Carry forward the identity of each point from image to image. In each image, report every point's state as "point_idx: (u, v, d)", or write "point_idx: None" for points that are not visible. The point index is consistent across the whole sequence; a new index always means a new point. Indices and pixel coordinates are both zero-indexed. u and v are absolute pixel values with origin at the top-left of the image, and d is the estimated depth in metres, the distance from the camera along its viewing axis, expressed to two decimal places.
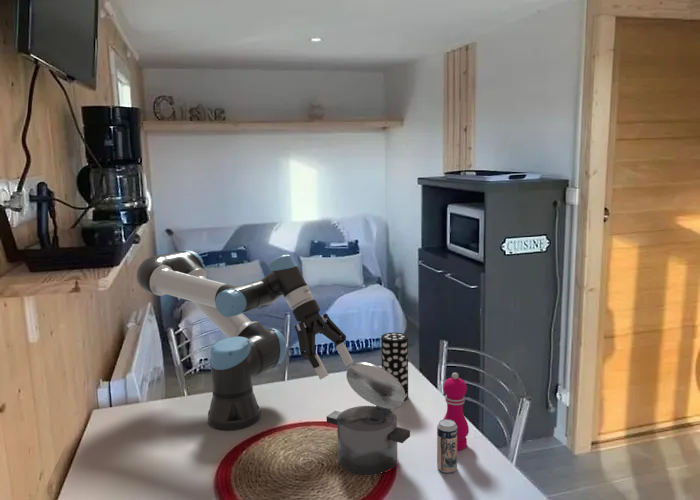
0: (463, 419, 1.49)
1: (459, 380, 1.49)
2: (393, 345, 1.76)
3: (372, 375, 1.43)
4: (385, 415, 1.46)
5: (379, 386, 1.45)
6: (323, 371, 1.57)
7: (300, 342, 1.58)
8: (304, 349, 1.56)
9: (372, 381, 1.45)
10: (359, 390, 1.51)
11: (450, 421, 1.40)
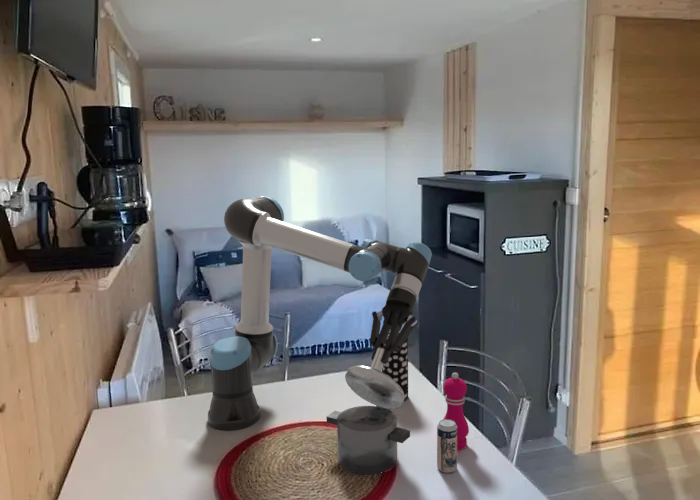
0: (463, 419, 1.49)
1: (459, 380, 1.49)
2: None
3: (371, 378, 1.43)
4: (385, 415, 1.46)
5: (378, 388, 1.45)
6: (380, 370, 1.45)
7: (404, 335, 1.46)
8: (400, 346, 1.46)
9: (371, 383, 1.44)
10: (358, 391, 1.51)
11: (450, 421, 1.40)
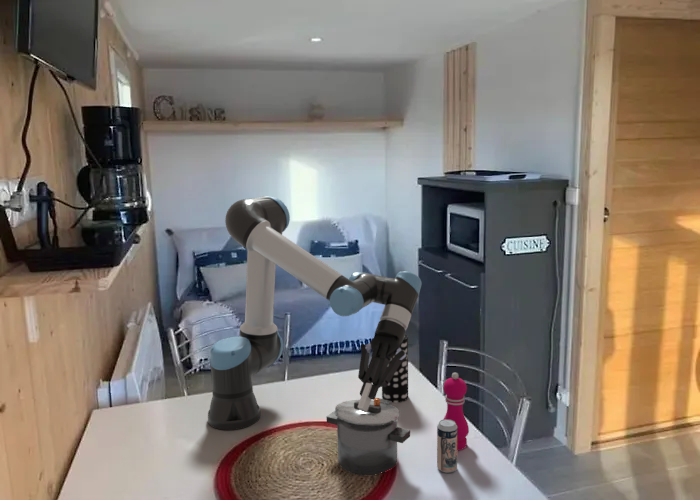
0: (463, 419, 1.49)
1: (459, 380, 1.49)
2: None
3: None
4: None
5: None
6: (368, 406, 1.41)
7: (392, 370, 1.43)
8: (388, 380, 1.43)
9: None
10: None
11: (450, 421, 1.40)
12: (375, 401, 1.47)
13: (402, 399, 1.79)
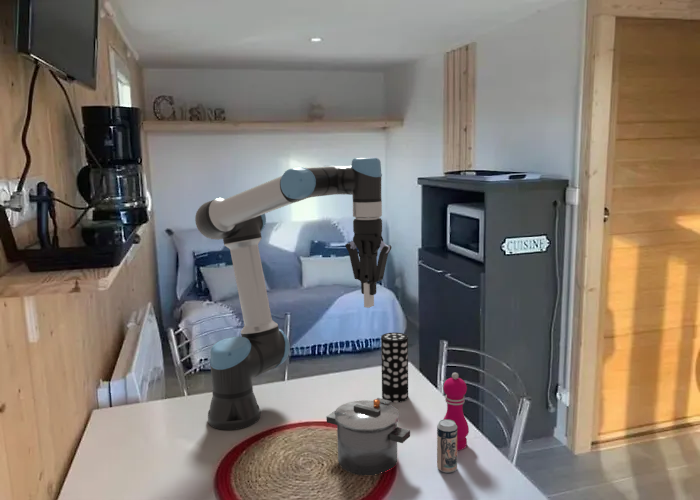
0: (463, 419, 1.49)
1: (459, 380, 1.49)
2: (393, 345, 1.76)
3: None
4: None
5: None
6: (373, 300, 1.53)
7: (382, 266, 1.49)
8: (382, 275, 1.50)
9: None
10: None
11: (450, 421, 1.40)
12: (375, 403, 1.47)
13: (402, 399, 1.79)
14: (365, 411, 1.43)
